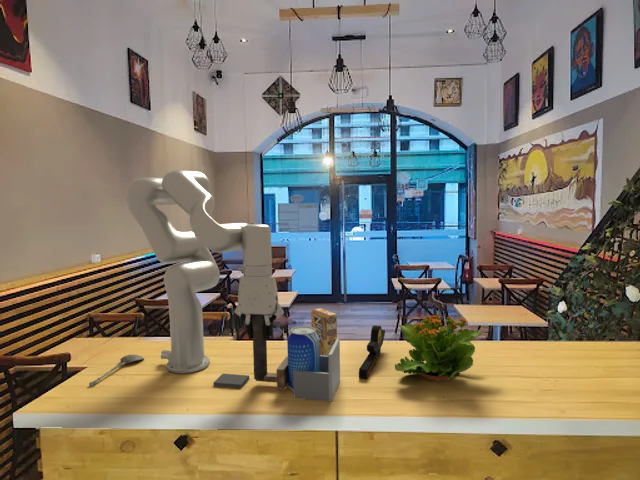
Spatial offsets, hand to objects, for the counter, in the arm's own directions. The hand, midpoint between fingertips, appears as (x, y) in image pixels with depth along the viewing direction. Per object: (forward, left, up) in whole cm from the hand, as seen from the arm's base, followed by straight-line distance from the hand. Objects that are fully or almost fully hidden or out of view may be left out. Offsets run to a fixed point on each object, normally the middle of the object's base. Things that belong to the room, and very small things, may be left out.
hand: (259, 337), depth 116 cm
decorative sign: (+29, +22, -14) cm, 38 cm away
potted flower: (+47, +16, -13) cm, 52 cm away
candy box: (+13, +21, -13) cm, 28 cm away
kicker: (+3, 0, -12) cm, 12 cm away
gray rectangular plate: (-9, 0, -13) cm, 16 cm away
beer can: (+12, 0, -13) cm, 18 cm away
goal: (+15, 0, -13) cm, 20 cm away
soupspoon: (-46, +2, -14) cm, 48 cm away
